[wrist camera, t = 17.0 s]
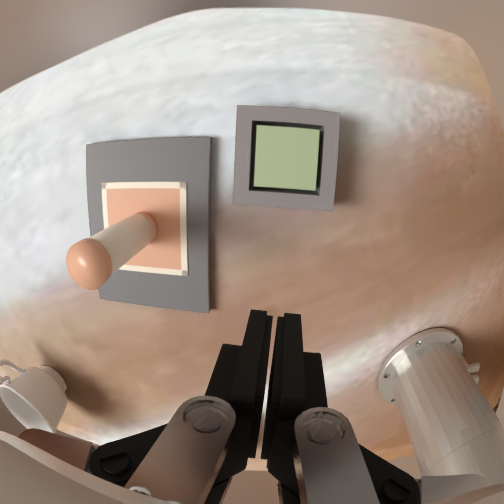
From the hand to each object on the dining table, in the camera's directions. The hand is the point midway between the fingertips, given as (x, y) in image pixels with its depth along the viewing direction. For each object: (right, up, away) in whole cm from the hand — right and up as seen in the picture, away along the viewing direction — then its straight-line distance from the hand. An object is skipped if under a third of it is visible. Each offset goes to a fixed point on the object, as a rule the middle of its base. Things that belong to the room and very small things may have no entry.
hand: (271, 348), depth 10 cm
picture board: (-11, +6, +18) cm, 22 cm away
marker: (-11, +6, +17) cm, 21 cm away
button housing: (+2, +12, +15) cm, 19 cm away
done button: (+2, +11, +14) cm, 18 cm away
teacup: (-35, -17, +28) cm, 48 cm away
